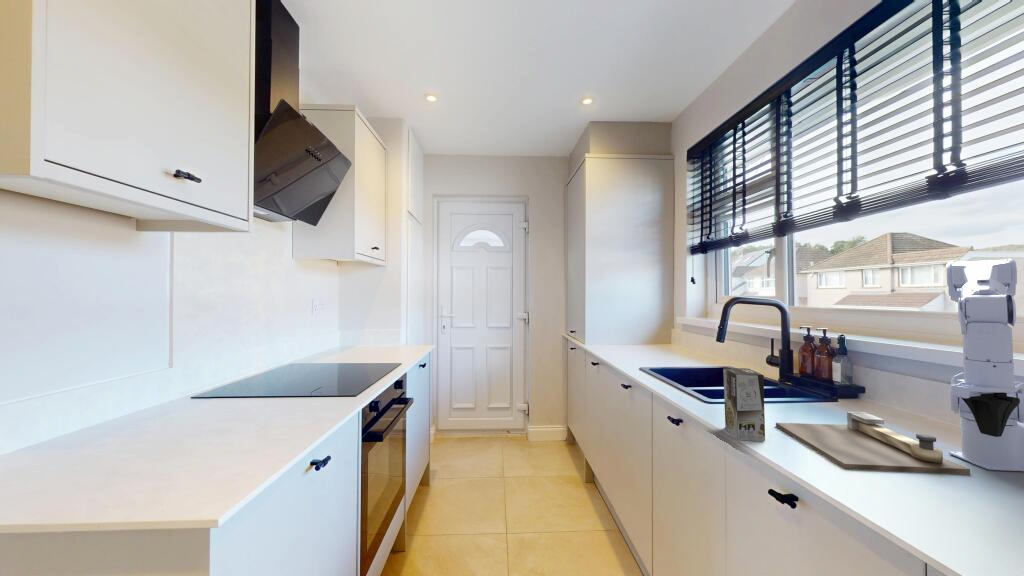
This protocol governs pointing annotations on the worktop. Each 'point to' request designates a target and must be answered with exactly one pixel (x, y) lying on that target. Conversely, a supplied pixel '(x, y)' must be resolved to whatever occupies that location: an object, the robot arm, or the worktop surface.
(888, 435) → the link
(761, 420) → the coffee box
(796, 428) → the base board
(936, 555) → the worktop surface
